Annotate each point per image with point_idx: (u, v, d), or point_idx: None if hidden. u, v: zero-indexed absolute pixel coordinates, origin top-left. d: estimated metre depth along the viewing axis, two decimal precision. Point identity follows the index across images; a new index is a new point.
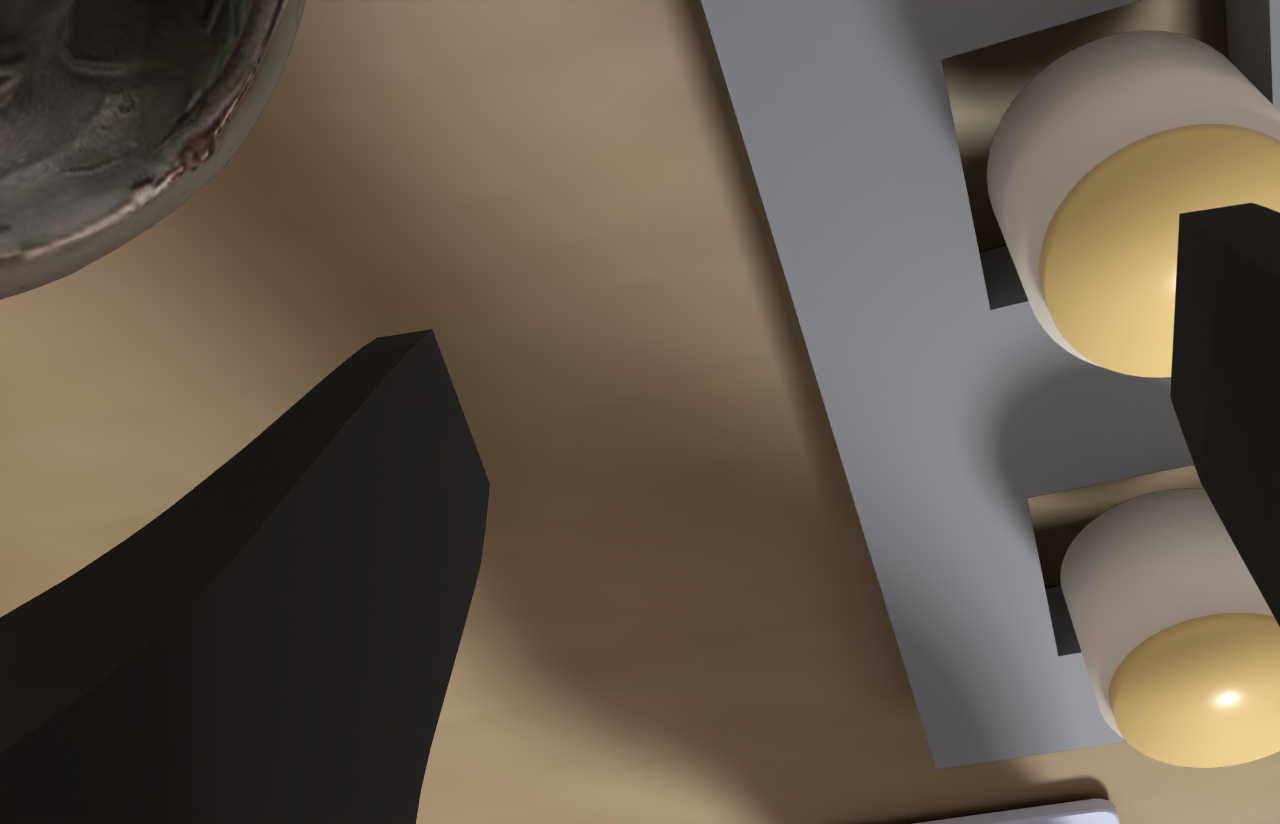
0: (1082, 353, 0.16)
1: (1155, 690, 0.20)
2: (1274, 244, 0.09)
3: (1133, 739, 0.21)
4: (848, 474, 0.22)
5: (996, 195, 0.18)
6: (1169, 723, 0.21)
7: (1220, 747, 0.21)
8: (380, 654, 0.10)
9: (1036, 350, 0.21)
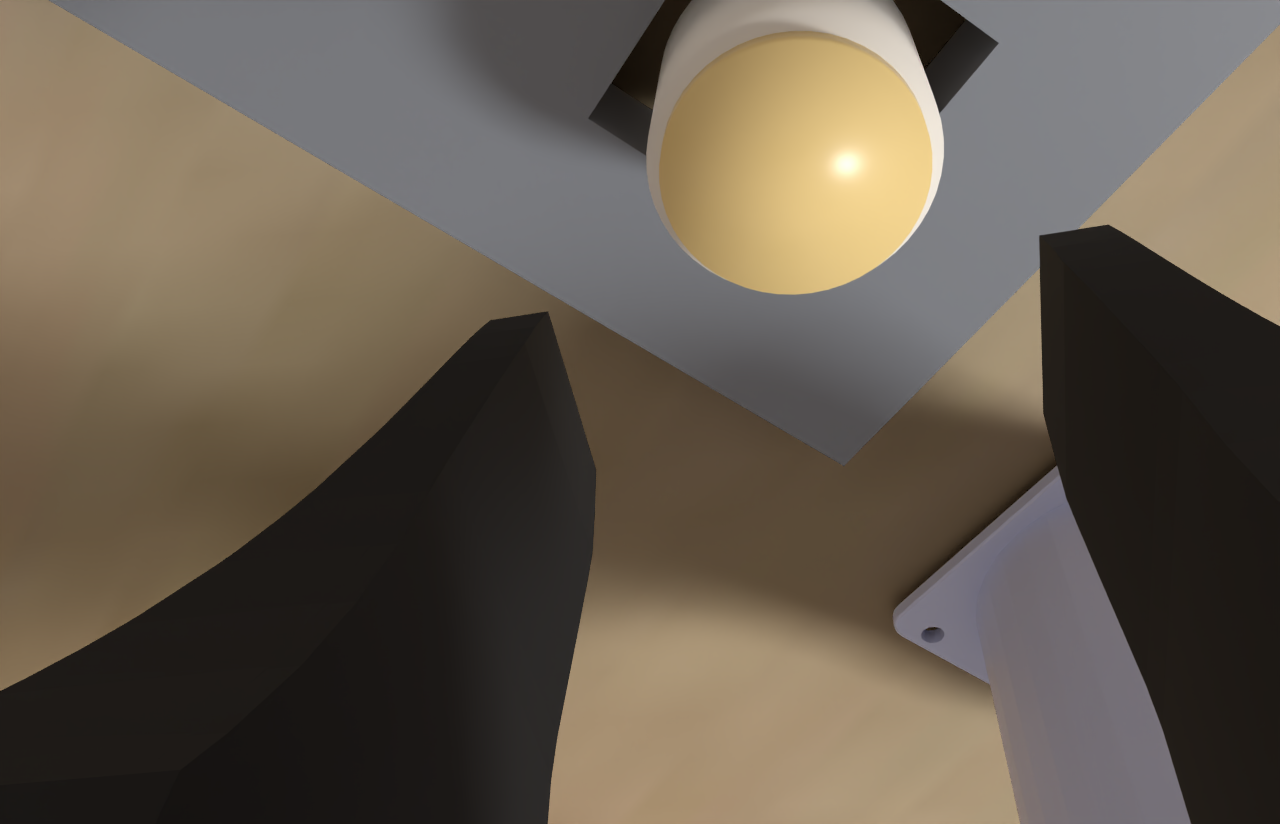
0: None
1: (711, 213, 0.16)
2: (1112, 268, 0.09)
3: (765, 284, 0.16)
4: (420, 215, 0.20)
5: None
6: (774, 240, 0.16)
7: (862, 230, 0.16)
8: (515, 641, 0.10)
9: None
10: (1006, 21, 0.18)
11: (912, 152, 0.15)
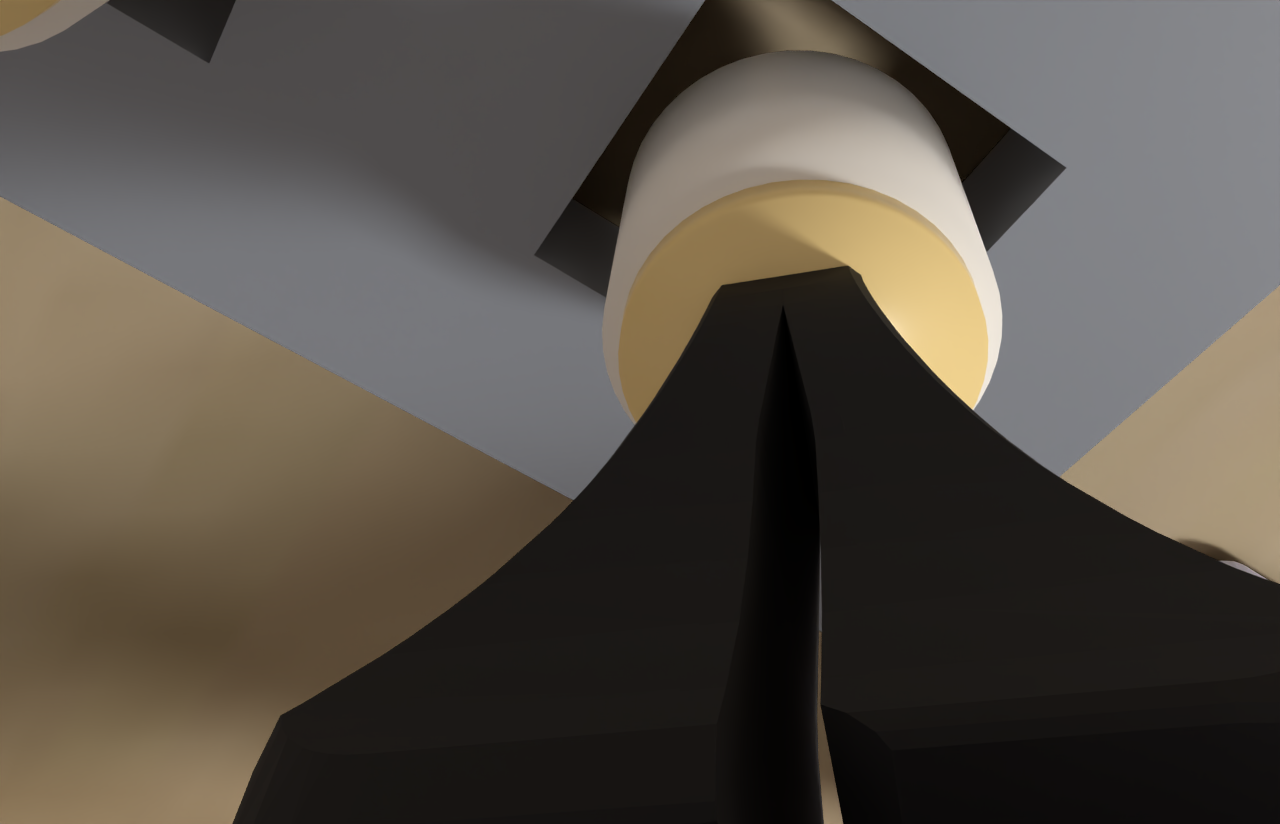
0: None
1: None
2: (820, 311, 0.10)
3: None
4: (326, 367, 0.16)
5: None
6: None
7: None
8: (796, 612, 0.09)
9: (311, 69, 0.14)
10: (1077, 141, 0.13)
11: (961, 339, 0.11)
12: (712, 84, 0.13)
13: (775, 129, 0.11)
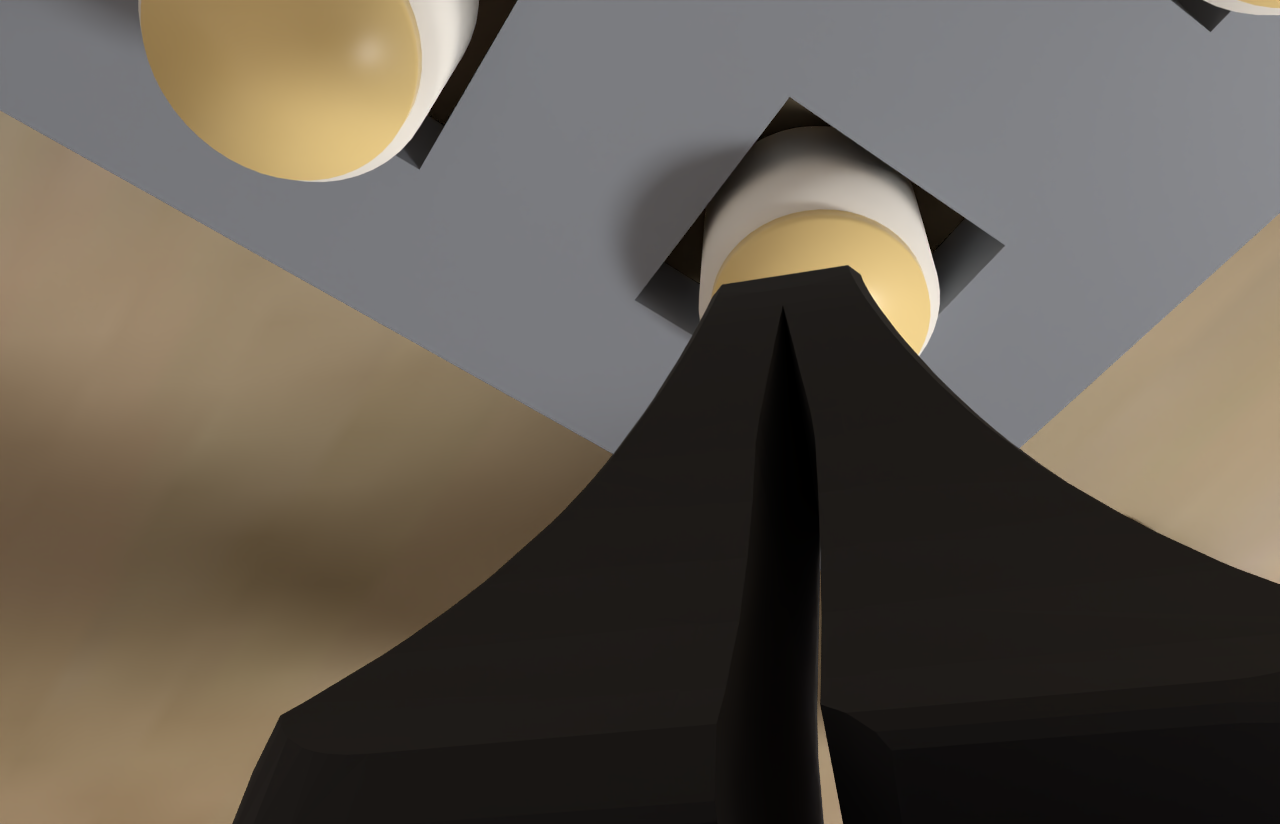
0: (306, 178, 0.16)
1: None
2: (820, 311, 0.10)
3: None
4: (479, 377, 0.22)
5: None
6: None
7: None
8: (796, 611, 0.09)
9: (490, 174, 0.20)
10: (1012, 228, 0.20)
11: (914, 303, 0.19)
12: (763, 147, 0.21)
13: (805, 178, 0.19)
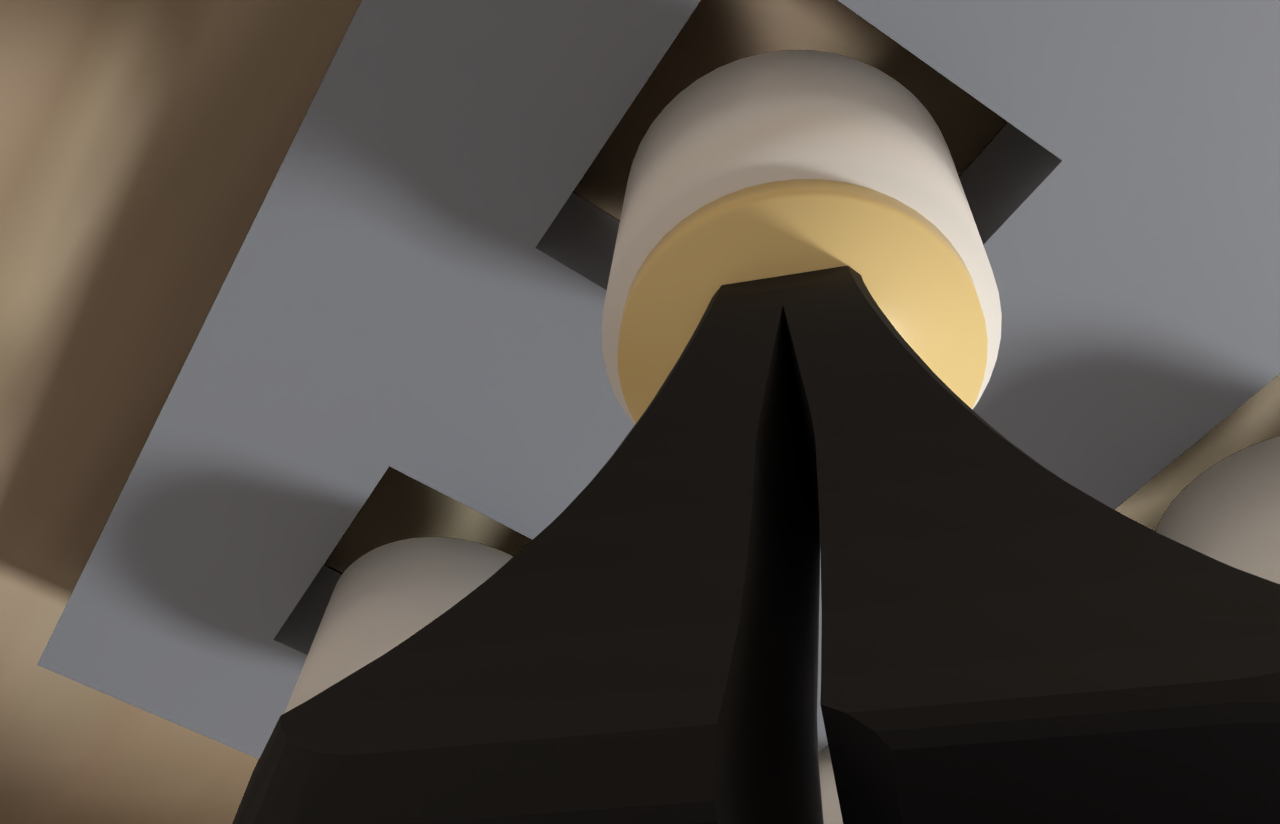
0: None
1: None
2: (820, 311, 0.10)
3: None
4: None
5: None
6: None
7: None
8: (796, 612, 0.09)
9: None
10: None
11: None
12: None
13: None
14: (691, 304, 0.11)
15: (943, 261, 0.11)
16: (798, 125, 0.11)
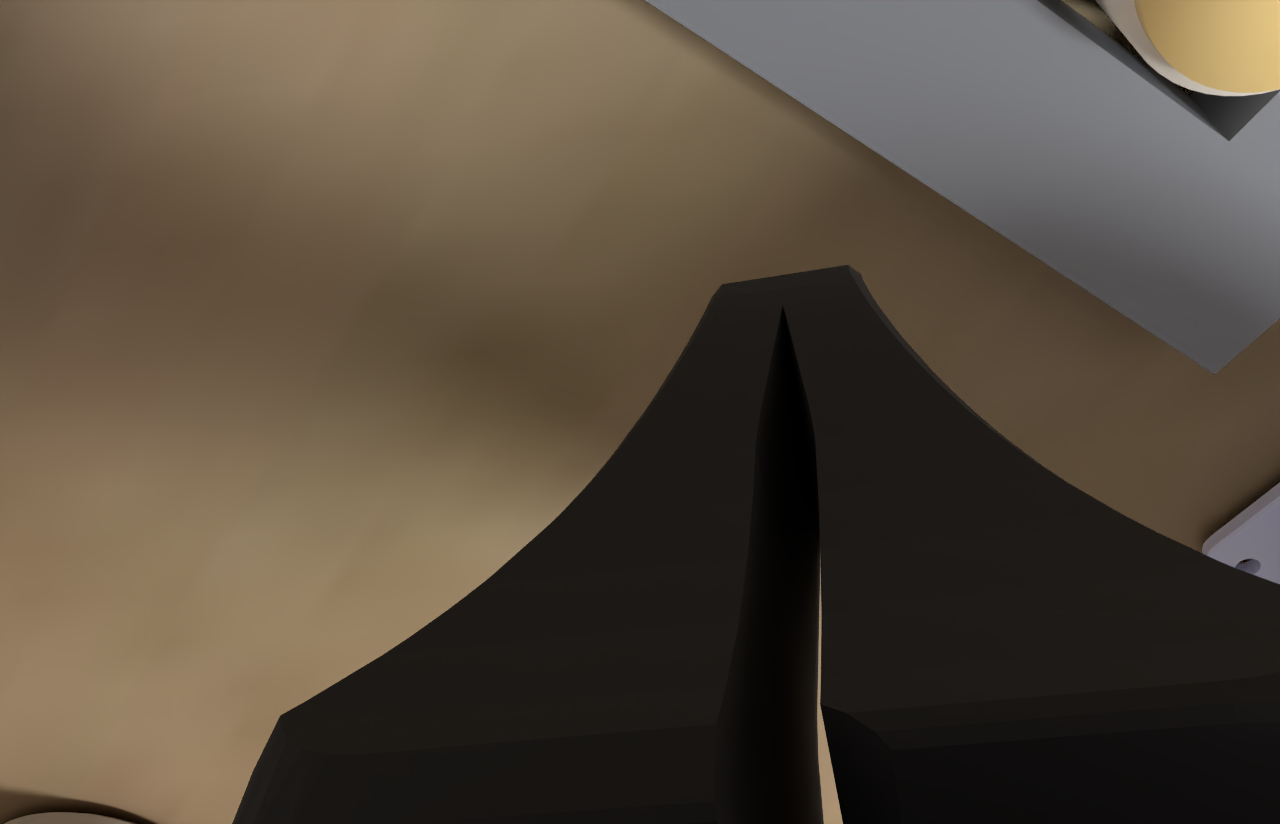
0: None
1: (1188, 4, 0.16)
2: (820, 311, 0.10)
3: (1227, 82, 0.16)
4: (796, 96, 0.18)
5: None
6: (1247, 32, 0.16)
7: None
8: (795, 612, 0.09)
9: None
10: None
11: None
12: None
13: None
14: None
15: None
16: None
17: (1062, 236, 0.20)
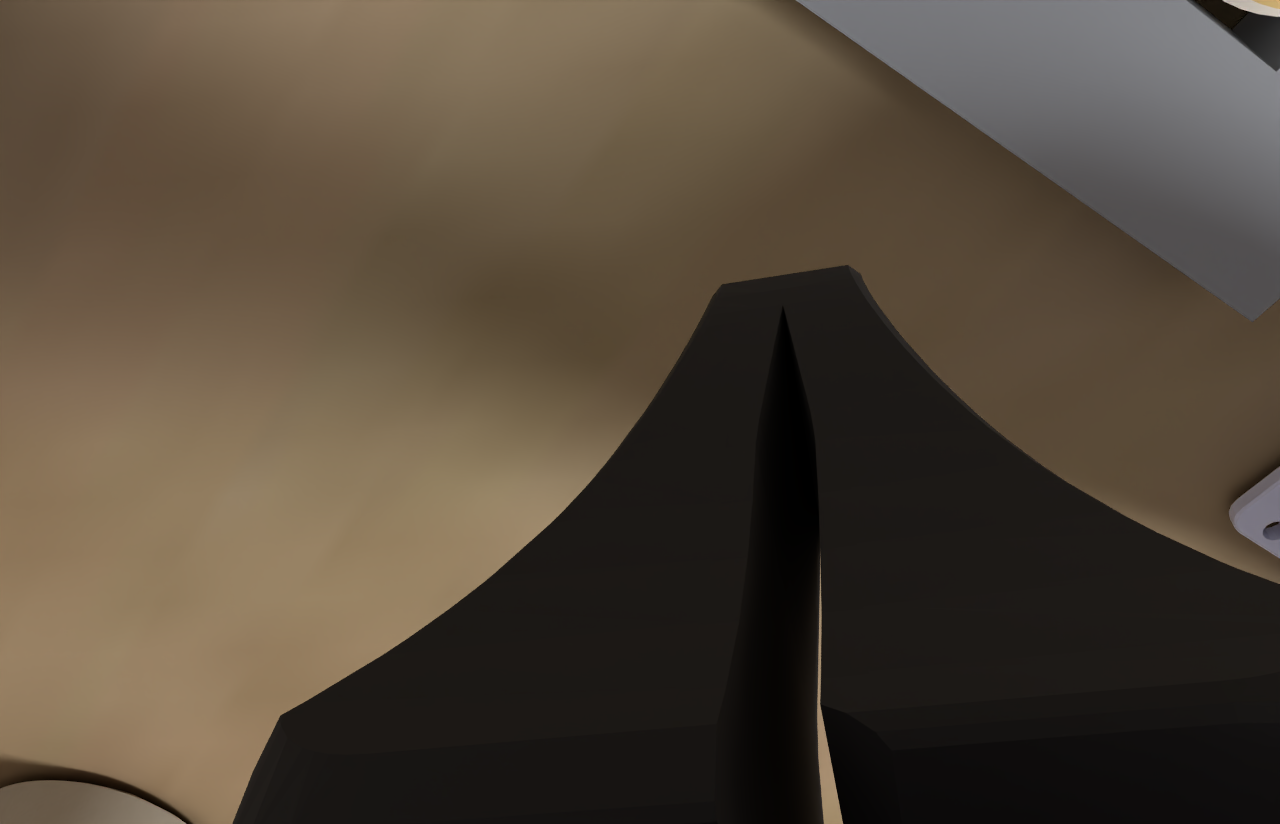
0: None
1: None
2: (820, 311, 0.10)
3: None
4: (828, 19, 0.18)
5: None
6: None
7: None
8: (795, 612, 0.09)
9: None
10: None
11: None
12: None
13: None
14: None
15: None
16: None
17: (1099, 172, 0.19)
